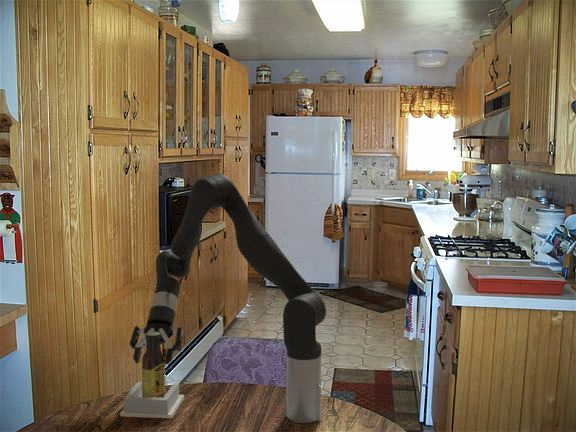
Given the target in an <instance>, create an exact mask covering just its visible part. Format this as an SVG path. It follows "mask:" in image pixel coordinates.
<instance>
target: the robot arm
mask: <svg viewBox="0 0 576 432" xmlns="http://www.w3.org/2000/svg"><path fill="white" fill-rule="evenodd" d="M249 207H250V206H248V204H247V203H246V201H245V200H244V197H243V196H242V194H241V193H240V192H239V190H238V188H237V187H236V184H235V183H234V182H233V180H232V179H230V177H229V176H227V175H226V174H224V173H215V174H211V175H208V176H205V177H204V176H203V177H200V178H199V179H197V180H196V181H195V183H194V184H193V186H192V188H191V191H190V194H189V197H188V201H187V204H186V209H185V211H184V215H183V218H182V221H181V224H180V225H179V228H178V229H177V231H176V233H175V236H174V237H173V239H172V240H171V244H170V250H166V249H165V250H163V251H160V252H159V253H158V255H157V257H156V259H155V272H156V285H155V286H156V287H155V290H154V295H153V298H152V300H151V303H150V309H149V313H148V316H147V321H146V325H145V327H143V328H142V327H139V326H134V328H133V331H132V334H131V337H130V341H129V345H130V347H131V349H132V350H134V353H133V360H134V362H135V364H140V362H141V357H142V353H143V352H142V350H143V349H145V348H146V333H148V332H159V333H160V335H161V338H160V345H163V344H165V345H166V347H167V349H166V354H165V355H166V356H165V358H164V360H165V365H170V363H172V361H173V358H174V357H173V356H174V352H176V351H181V350H182V345H183V337H184V336H183V335H184V331H183V329H182V327H177V328H175V329H174V324H175V321H176V320H175V319H176V314H177V311H178V310H177V309H178V299H179V295H180V291H181V283H180V282H179V280H177V279H178V278H179V279H182V278H185V277H186V276H188V274H189V272H190V269H191V262H192V261H191V260H192V257H193V254H194V251H195V250H196V248H197V246H198V244H199V243H200V240H201V238H202V232H203V230H202V222H203V220H204V218H205V217H206V215H207V214H208V213H209V212H210V211H211V210H216V209H218V208H222V209H223V210H224V211H225V212H226V214H227V215H228V217H229V218H230V220H231V221H232V223H233V226H234V232H235V239H236V244H237V249H238V250H239V252H240V254H241V255H242V257H243V258H244V259H245V261H246V262H247V263H248V265H249V266H250V267H251V268H252V269H253V270H254V271H255V272H256V273H257V274H258V275H260V276H261V277H263V278H264V279H265V280H267V281H269V282H270V283H271V284H273V285H274V286H276V287H277V288H278V289H279V290H280V291H281V292H282V294H284V296H285V297H286V298H287V299H286V300H288V301H287V302H286V304H285V305H284V308H283V312H282V313H283V314H282V326H283V327H282V328H283V344H284V346H285V348H286V399H285V401H286V403H285V404H286V407H285V408H286V413H285V414H286V418H287V419H288V420H289V421H291V422H293V423H296V424H312V423H315V422H321V419H322V417H321V414H322V345H321V343H320V342H319V341H317V336H316V335H317V334H316V331H317V330H316V328H317V327H316V326H318V325H320V324H321V323H322V322H323V321H324V320H325V319H326V315H327V308H326V304H325V302H324V300H323V299H322V297H321V296H320V295H319V294H318V293H317V292H316V290H314V288H313V287H311V285H310V284H309V283H308V282H307V281H306V280H305V279H304V278H303V277H302V276H301V274H300V273H299V272H298V271H297V270H296V268H295V266H293V264H292V263H291V261H290V260H289V259H288V257H286V255H285V254H284V252H283V251H282V250H281V249H280V247H279V246H278V244H277V243H276V241H275V240H274V239H273V238H272V237H271V235H270V234H269V233H268V231H267V230H266V229H265V228H264V226H263V225H262V223H260V221H259V220H258V219H257V217H256V216H255V214H254V213H253V211H252V210H251V209H250V208H249ZM176 278H177V279H176ZM143 334H144V335H143ZM142 335H143V336H142ZM173 335H174V336H175V343H174V344H172V342H171V340H170V338H171V337H172V336H173ZM141 336H142V337H141ZM140 337H141V338H140ZM139 339H140V340H139Z"/></svg>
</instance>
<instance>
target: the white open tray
mask: <svg viewBox="0 0 576 432" xmlns="http://www.w3.org/2000/svg"><path fill="white" fill-rule="evenodd" d="M184 399H185V395H184V394H180V383H177V382H173V384H172V385H171V386H170V387H169V390H167V393H165V397H164V398H157V397H142V381H137V382H136V383H135V385H134V386H133V387H132V388H131V389H130V390H129V392H128V393H127V394H126V396H124V397H123V409H122V410H121V411H120V417H128V418H153V419H154V418H156V419H173V416H174V415H175V414H176V413H177V410H178V409H179V407H180V405H181V403H182V402H183V401H184Z"/></svg>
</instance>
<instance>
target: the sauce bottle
mask: <svg viewBox="0 0 576 432" xmlns="http://www.w3.org/2000/svg"><path fill="white" fill-rule="evenodd" d="M160 338H161V335H160V333H159V332H148V333H146V347H145V349H146V350H145V352H144V353H143V354H142V355H143V356H142V359H141V361H142V363H141V364H142V365H141V366H142V367H141V382H142V397H157V398H164V397H165V394H166V363H165V357H164V355H163V352H162V349H161V344H160Z"/></svg>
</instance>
